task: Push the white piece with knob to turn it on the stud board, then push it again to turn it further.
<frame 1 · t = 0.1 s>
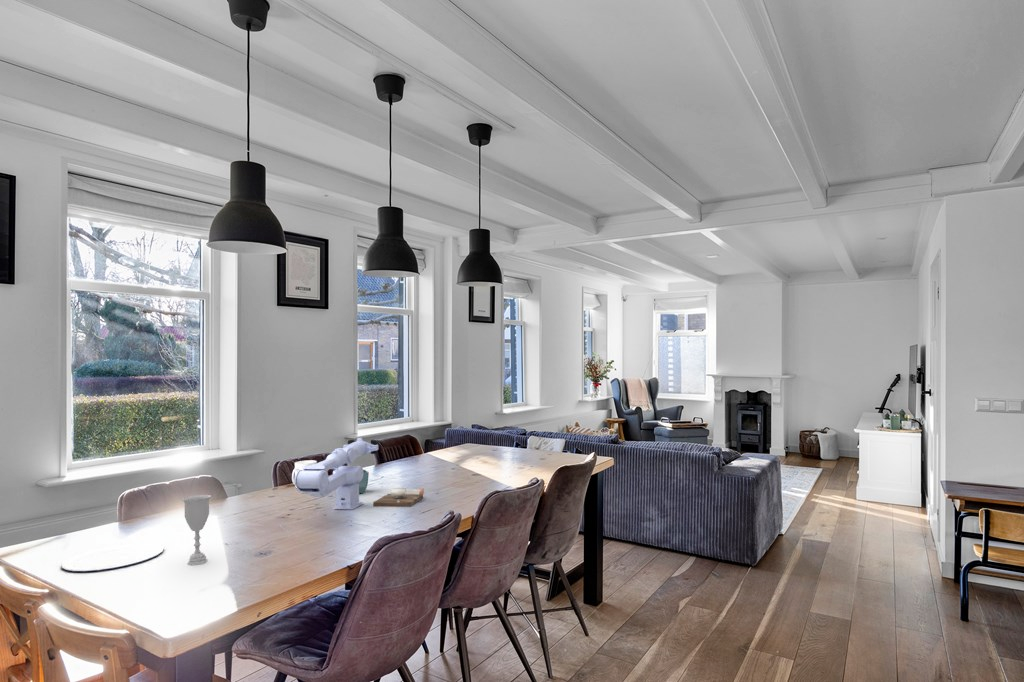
hand: (369, 443, 252), 22 cm above the table, tool horizontal, fingers open, 7 cm apart
plate: (114, 560, 175), on the table
chalice: (197, 562, 169), on the table
stud board: (398, 502, 238), on the table
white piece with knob: (407, 491, 237), point 4 cm above the table, hinge at 0.0°
flower pot: (357, 493, 258), on the table
mug: (304, 489, 271), on the table
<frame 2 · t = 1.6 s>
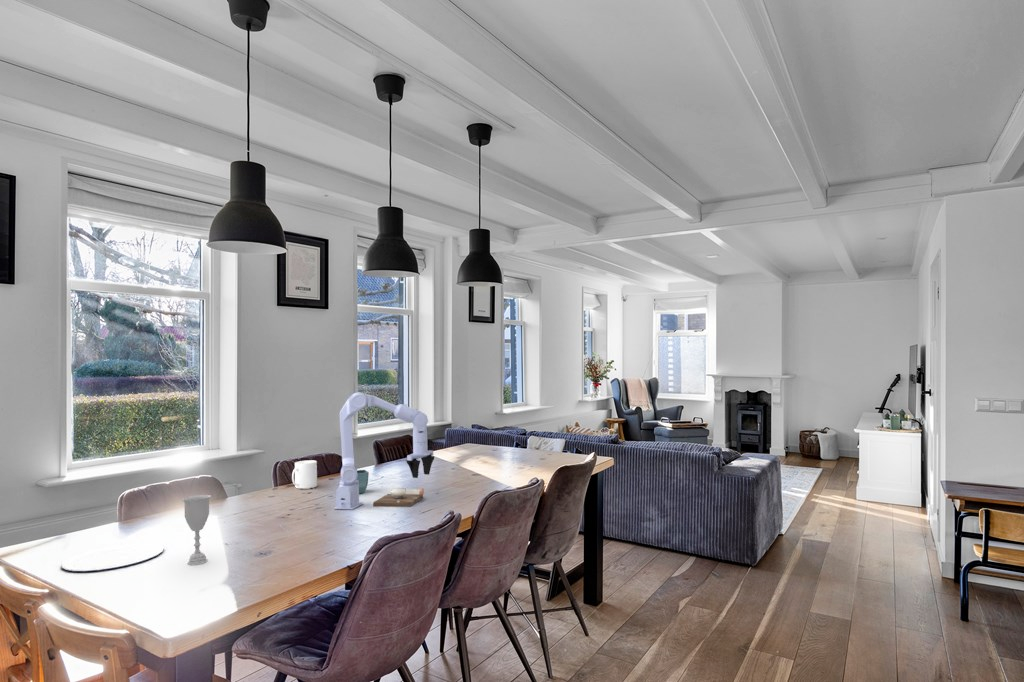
hand: (421, 476, 241), 9 cm above the table, tool pointing down, fingers open, 7 cm apart
nothing on the table moved.
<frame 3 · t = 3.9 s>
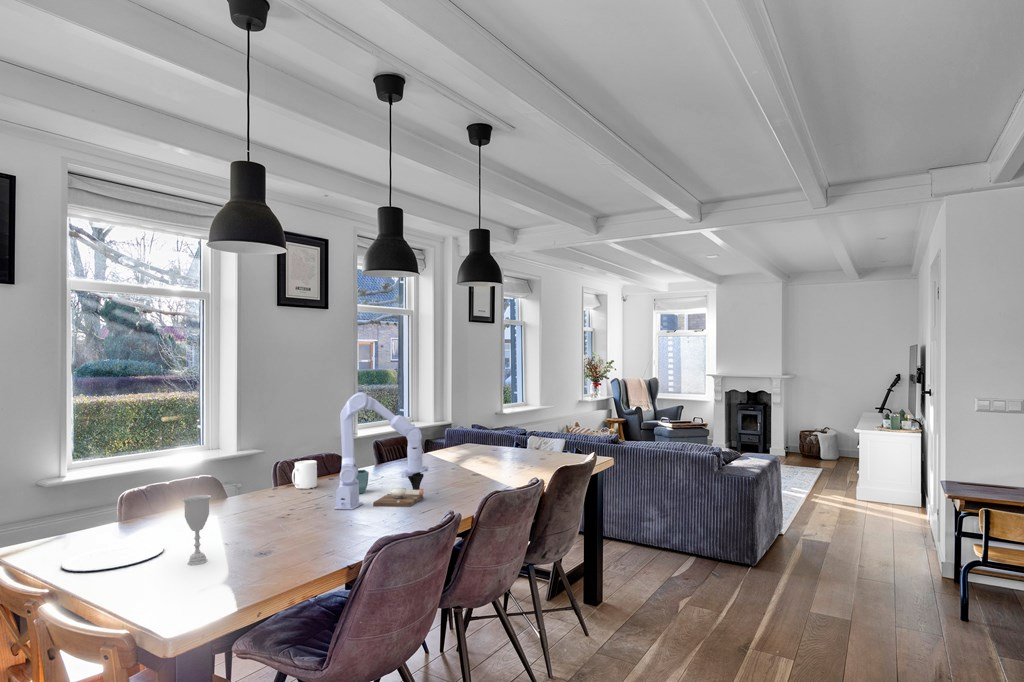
hand: (416, 492, 237), 4 cm above the table, tool pointing down, fingers closed, pressing on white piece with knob
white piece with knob: (407, 491, 237), point 4 cm above the table, hinge at 2.3°, touching gripper
everything else where it was.
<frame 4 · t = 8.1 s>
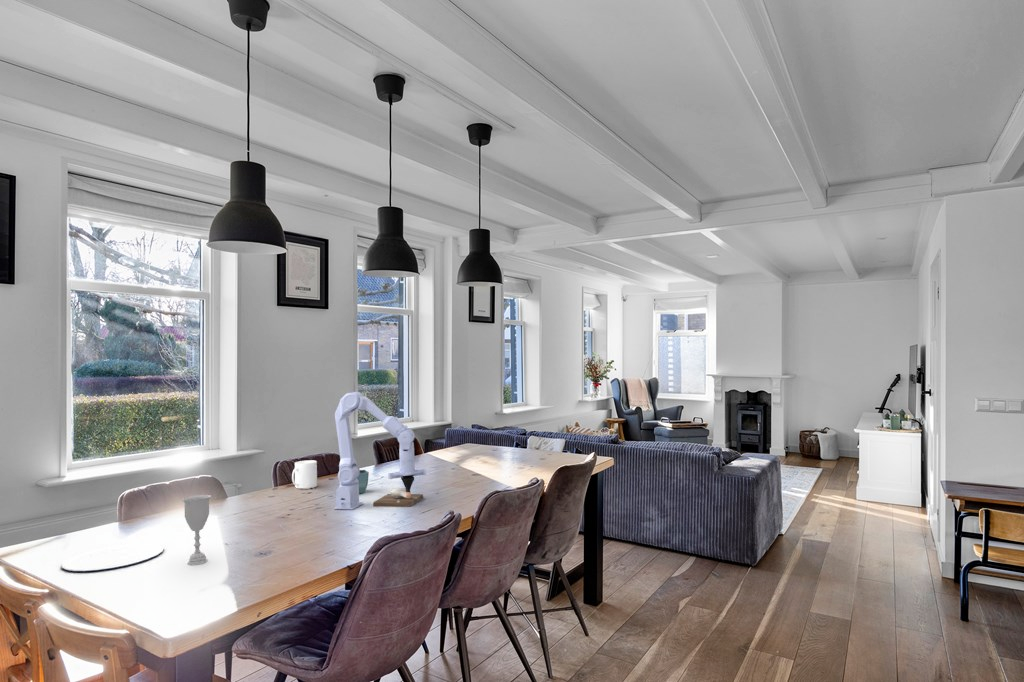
hand: (407, 495, 233), 3 cm above the table, tool pointing down, fingers closed, pressing on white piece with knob
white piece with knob: (402, 493, 235), point 4 cm above the table, hinge at 45.5°, touching gripper
everything else where it was.
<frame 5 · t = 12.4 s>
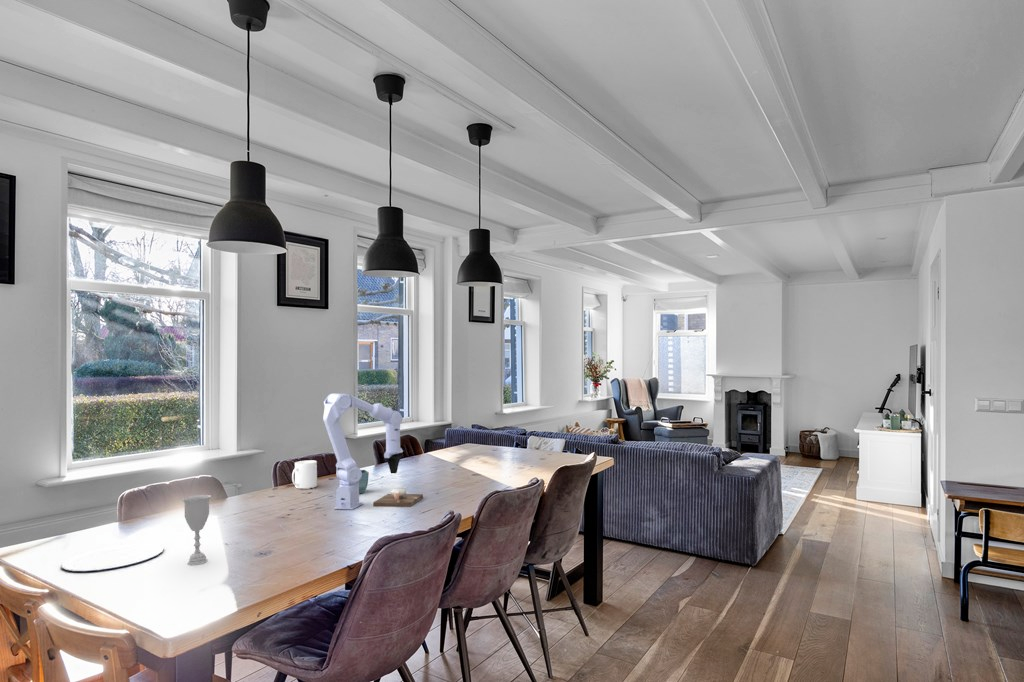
hand: (393, 473, 247), 10 cm above the table, tool pointing down, fingers closed
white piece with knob: (397, 493, 234), point 4 cm above the table, hinge at 73.5°
everything else where it was.
at the end: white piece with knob at +74° (first picture: +0°); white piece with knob touching nothing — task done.
